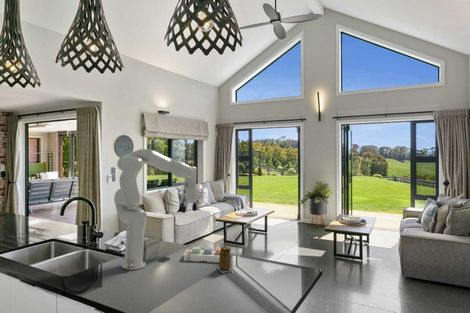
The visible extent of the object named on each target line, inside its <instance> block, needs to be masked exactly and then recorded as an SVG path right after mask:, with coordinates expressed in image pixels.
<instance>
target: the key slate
mask: <svg viewBox="0 0 470 313" xmlns="http://www.w3.org/2000/svg"><path fill="white" fill-rule="evenodd" d="M203 250H204V254H209V255H211V254H212V251H213V248H212V247H207V246H206V247H204V248H203Z"/></svg>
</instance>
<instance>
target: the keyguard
mask: <svg viewBox="0 0 470 313" xmlns="http://www.w3.org/2000/svg"><path fill="white" fill-rule="evenodd" d="M219 260H220V255H216V250H212V254H211V255H209V254H204V249H201V250H200V254H192V249H189V248H188V249H186V250H185V251H184V253H183V261H184V262H200V261H207V262H206V263H219Z"/></svg>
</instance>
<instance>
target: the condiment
mask: <svg viewBox="0 0 470 313" xmlns="http://www.w3.org/2000/svg"><path fill="white" fill-rule="evenodd" d="M220 248H221V252H220V260H219V262H218V263H219V264H218V265H219V266H218V268H219V270H221V271H229V270H230V269H231V257H232V254H231V248H230V247H228V246H222V247H220ZM233 273H234V271H232V273H231V274H233Z"/></svg>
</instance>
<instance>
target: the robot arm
mask: <svg viewBox="0 0 470 313" xmlns="http://www.w3.org/2000/svg"><path fill="white" fill-rule="evenodd" d="M116 165H117V168H118V169H119V170H120V171H122V172H121V173H120V176H119V181H118V182H119V187H120V188H119V189H117V191H116V192H115V193H114V197H113V199H114V200H113V201H114V205H115V208H116V214H117V216H118V219H119V220H120V221H121V222H123V223H125V224H128V226H127V229H126V232H125V248H124V249H125V250H124V261H123V262H122V263H121V264H120V267H121V268H122V269H124V270H128V271H129V270H130V271H134V270H139V269H143V268H144V267H145V266H146V264H147V263H146V261H144V248H145V247H144V245H145V230H146V224H147V218H148V215H147V212H146V211H145V210H144V209H142V208H140V207H138V206H139V204H140V203H141V197H140V196H141V195H140V191H139V188H138V183H137V178H138V175H139V173H140V172H141V170H142V169H143V166H144V165H149V166H151V167H154V168H156V169H158V170H160V171H162V172H167V173H172V174H173V176H174V177H176V178H180V179H184V184H183V190H182V197H181V198H180V199H179V200H178V201H179V204H180V206H181V213H184V214H186V211H187V206H186V205H187V204H192V210H191V211H193V212H197V205H198V203H199V200H200V196H199V195H198V188H197V171H198V170H197V167H196V166H191V165H188V164H186V163H184V162H182V161H178V160H176V159H173V158H170V157H168V156H166V155H164V154H162V153H160V152H158V151H156V150H153V149H148V148H146V149H145V148H141V149H136V150H134V151H132V152H130V153H127V154H124V155H122V156H120V157H119V159H118V160H117V164H116Z"/></svg>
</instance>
